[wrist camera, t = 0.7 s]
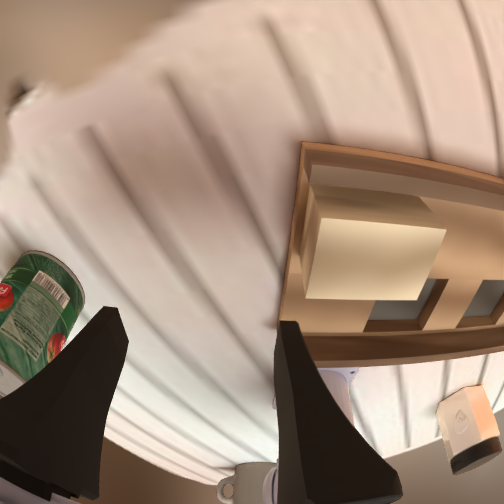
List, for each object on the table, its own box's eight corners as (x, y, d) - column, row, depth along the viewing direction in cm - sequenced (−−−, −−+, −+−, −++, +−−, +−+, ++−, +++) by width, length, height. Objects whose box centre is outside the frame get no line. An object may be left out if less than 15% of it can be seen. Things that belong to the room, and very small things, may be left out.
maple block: (396, 260, 20) (416, 300, 17) (299, 255, 20) (305, 298, 17) (417, 195, 18) (446, 229, 14) (310, 183, 18) (321, 217, 14)
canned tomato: (81, 325, 28) (41, 418, 19) (19, 293, 26) (-31, 375, 17) (90, 273, 24) (33, 382, 15) (17, 236, 22) (-54, 326, 13)
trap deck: (499, 323, 27) (513, 348, 24) (276, 329, 27) (278, 367, 24) (563, 198, 18) (588, 220, 15) (302, 141, 18) (312, 164, 14)
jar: (475, 378, 34) (500, 448, 24) (487, 389, 37) (508, 450, 27) (426, 408, 38) (443, 477, 28) (443, 416, 41) (459, 476, 31)
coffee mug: (289, 462, 50) (291, 508, 42) (279, 474, 56) (279, 514, 48) (219, 459, 50) (215, 506, 42) (217, 470, 56) (214, 511, 47)
